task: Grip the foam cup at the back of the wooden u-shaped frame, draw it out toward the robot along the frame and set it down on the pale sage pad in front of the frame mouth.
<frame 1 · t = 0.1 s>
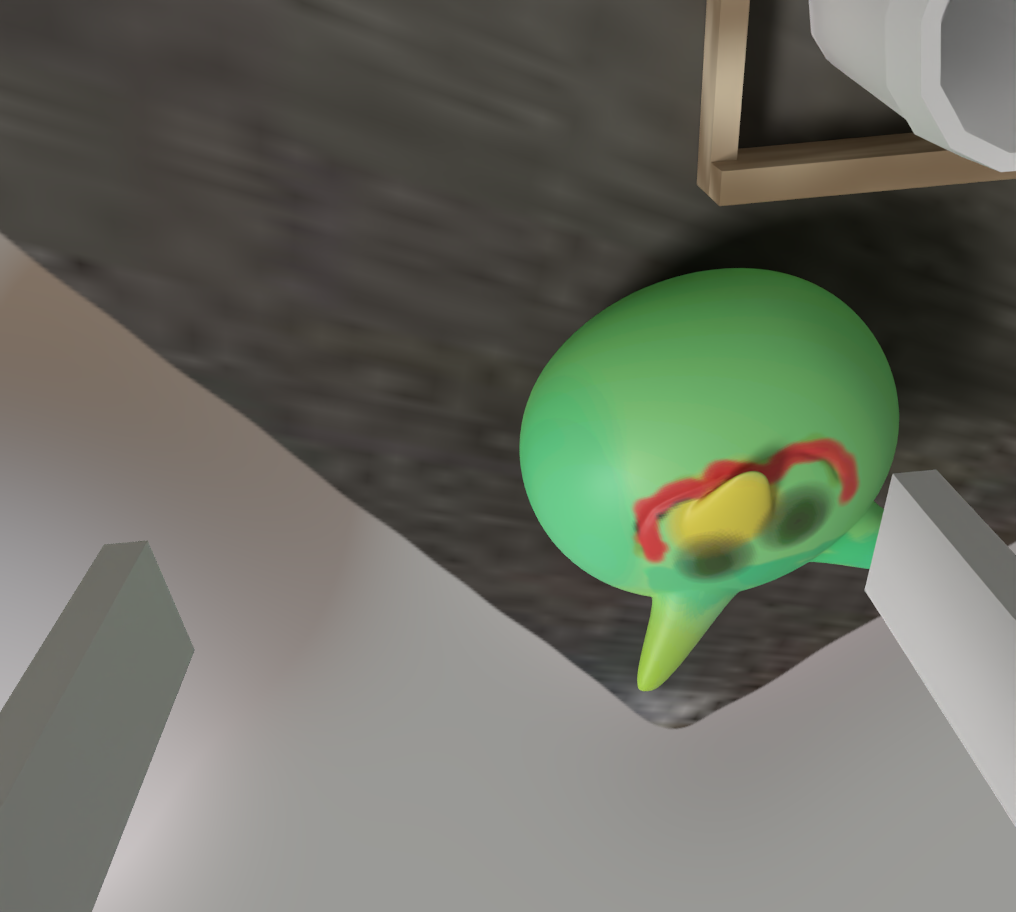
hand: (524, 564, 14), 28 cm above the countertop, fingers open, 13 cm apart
toy bird: (671, 381, 44), on the countertop
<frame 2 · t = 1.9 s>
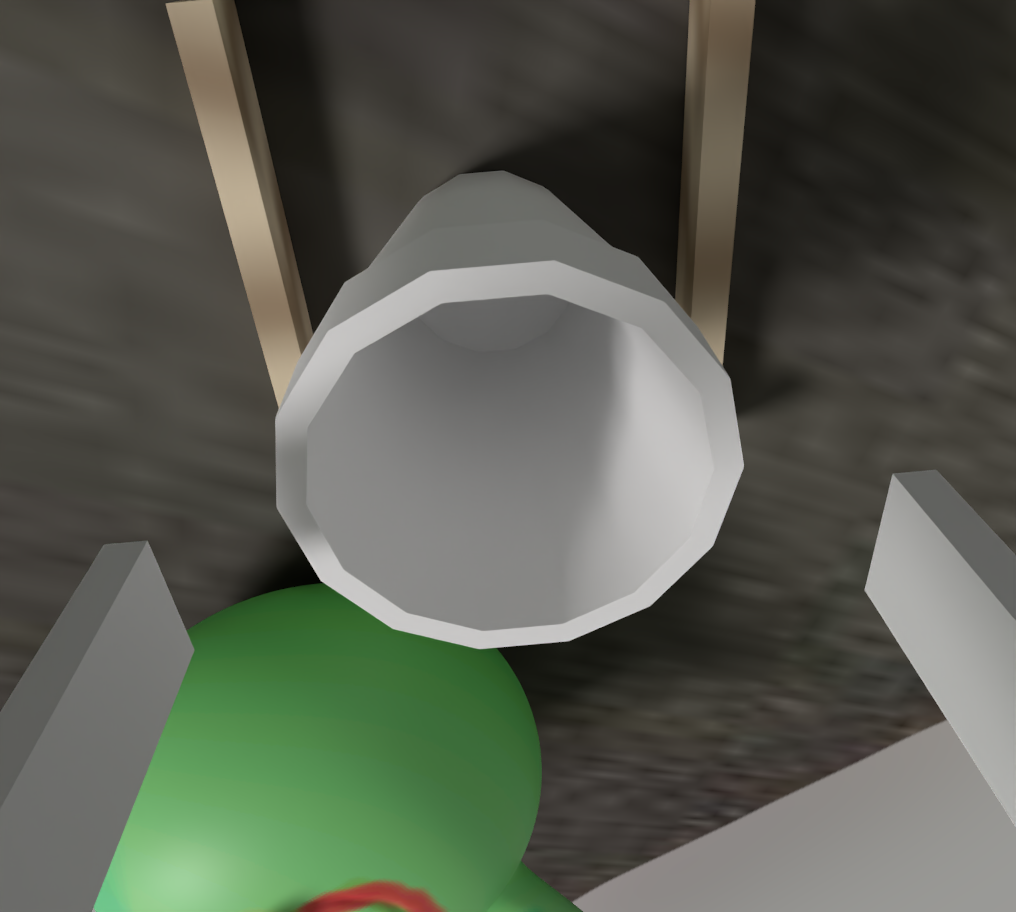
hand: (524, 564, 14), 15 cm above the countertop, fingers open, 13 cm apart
toy bird: (347, 652, 37), on the countertop
foam cup: (489, 263, 26), resting in wooden u-shaped frame
wooden u-shaped frame: (488, 251, 26), on the countertop
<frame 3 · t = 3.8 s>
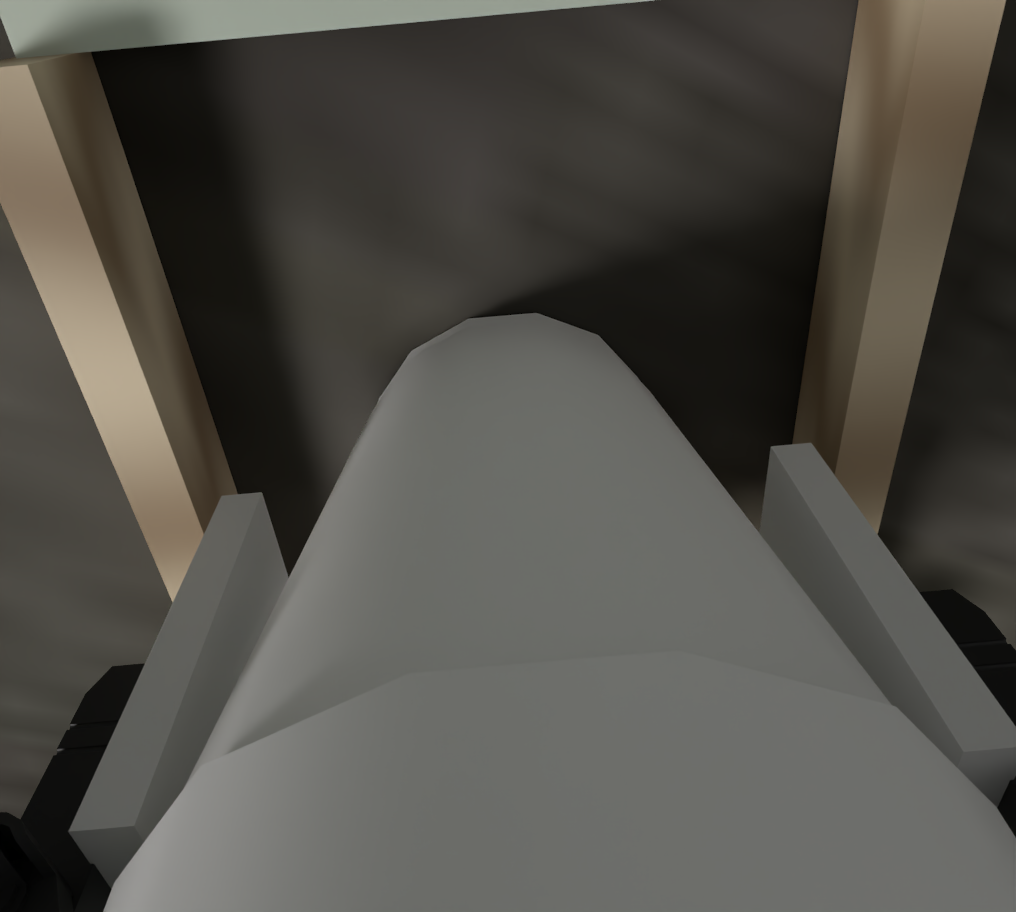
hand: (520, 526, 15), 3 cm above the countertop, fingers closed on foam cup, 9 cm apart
foam cup: (512, 437, 18), resting in wooden u-shaped frame, touching gripper
wooden u-shaped frame: (510, 424, 17), on the countertop
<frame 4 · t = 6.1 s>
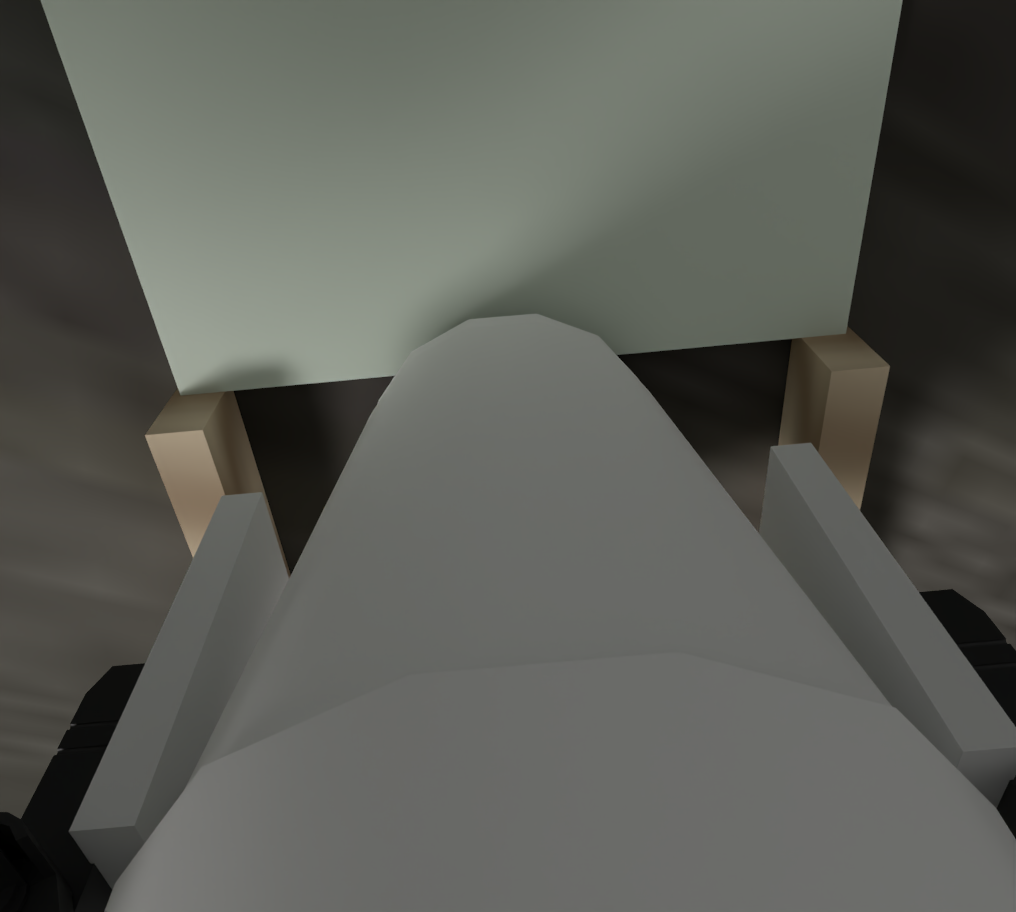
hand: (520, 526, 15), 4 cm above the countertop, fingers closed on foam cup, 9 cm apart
foam cup: (512, 438, 18), point 1 cm above the countertop, touching gripper
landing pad: (485, 64, 14), on the countertop
wooden u-shaped frame: (533, 609, 22), on the countertop
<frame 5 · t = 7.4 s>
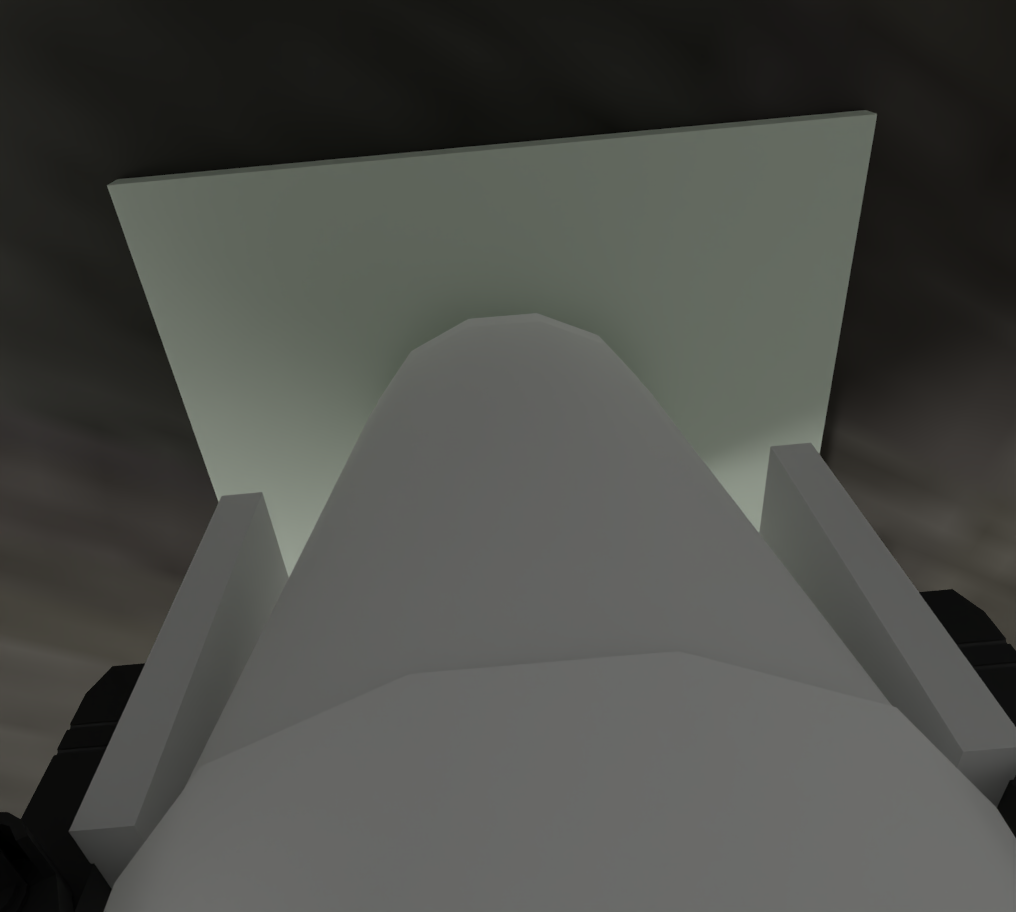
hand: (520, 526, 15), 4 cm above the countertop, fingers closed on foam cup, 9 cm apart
foam cup: (512, 438, 18), point 1 cm above the countertop, touching gripper
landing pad: (513, 407, 18), on the countertop
when the fingers open (4 cm above the countertop, at t = 8.4 s): foam cup stays where it is, resting on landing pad.
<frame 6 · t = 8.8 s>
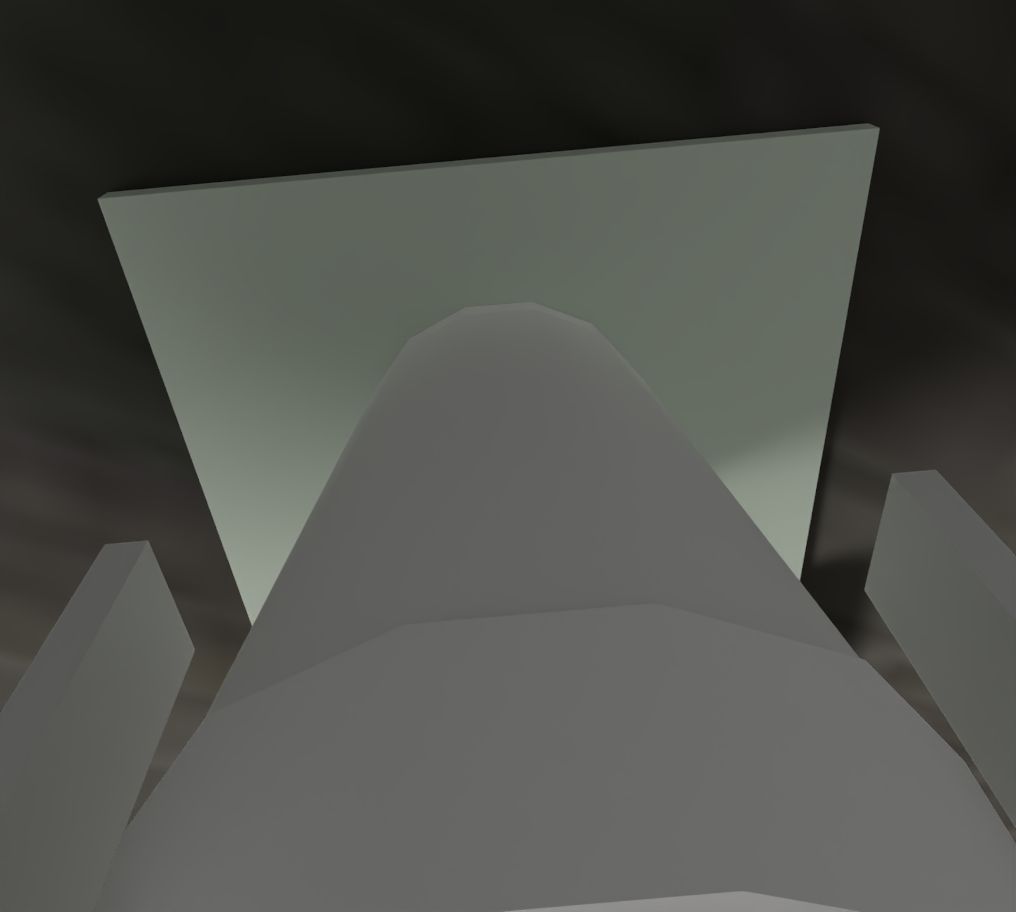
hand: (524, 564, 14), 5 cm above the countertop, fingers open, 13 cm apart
foam cup: (508, 425, 18), resting on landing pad
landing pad: (510, 420, 18), on the countertop
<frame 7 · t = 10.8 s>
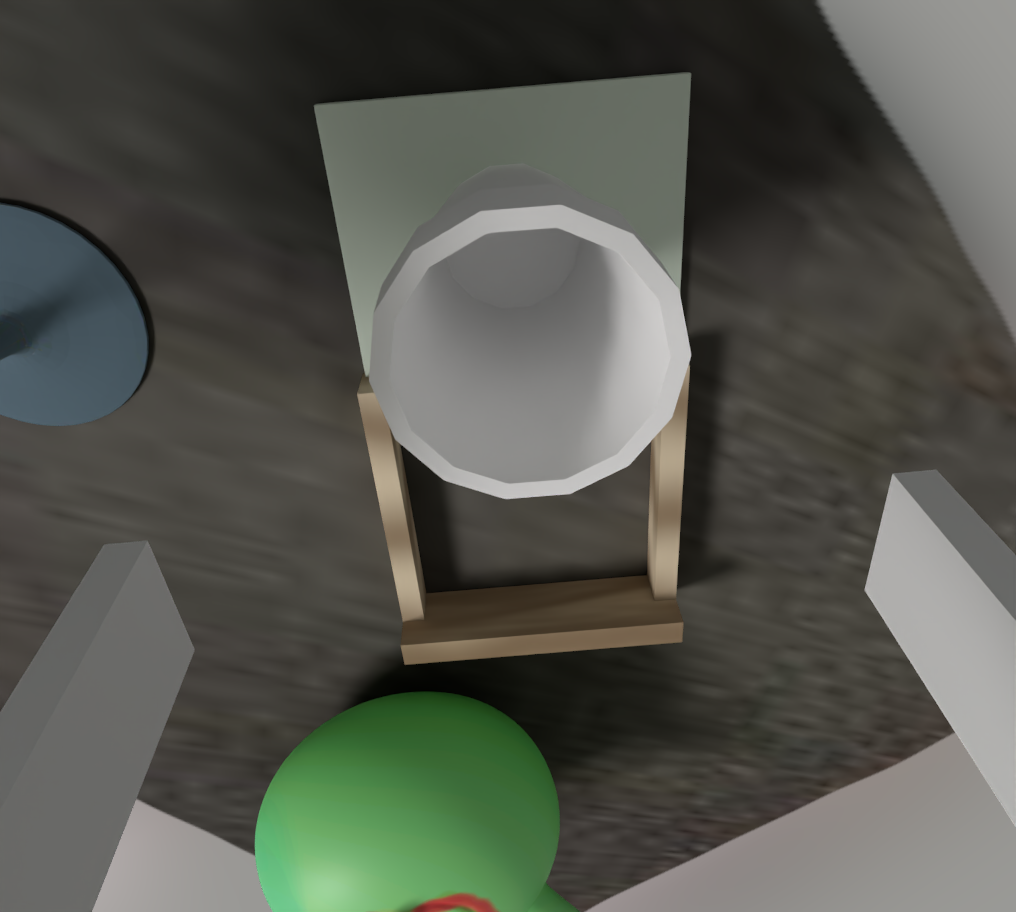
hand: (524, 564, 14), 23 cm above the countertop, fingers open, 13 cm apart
toy bird: (421, 730, 52), on the countertop
foam cup: (510, 237, 34), resting on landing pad
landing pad: (512, 236, 34), on the countertop
wooden u-shaped frame: (530, 494, 41), on the countertop
cocktail glass: (29, 319, 35), on the countertop
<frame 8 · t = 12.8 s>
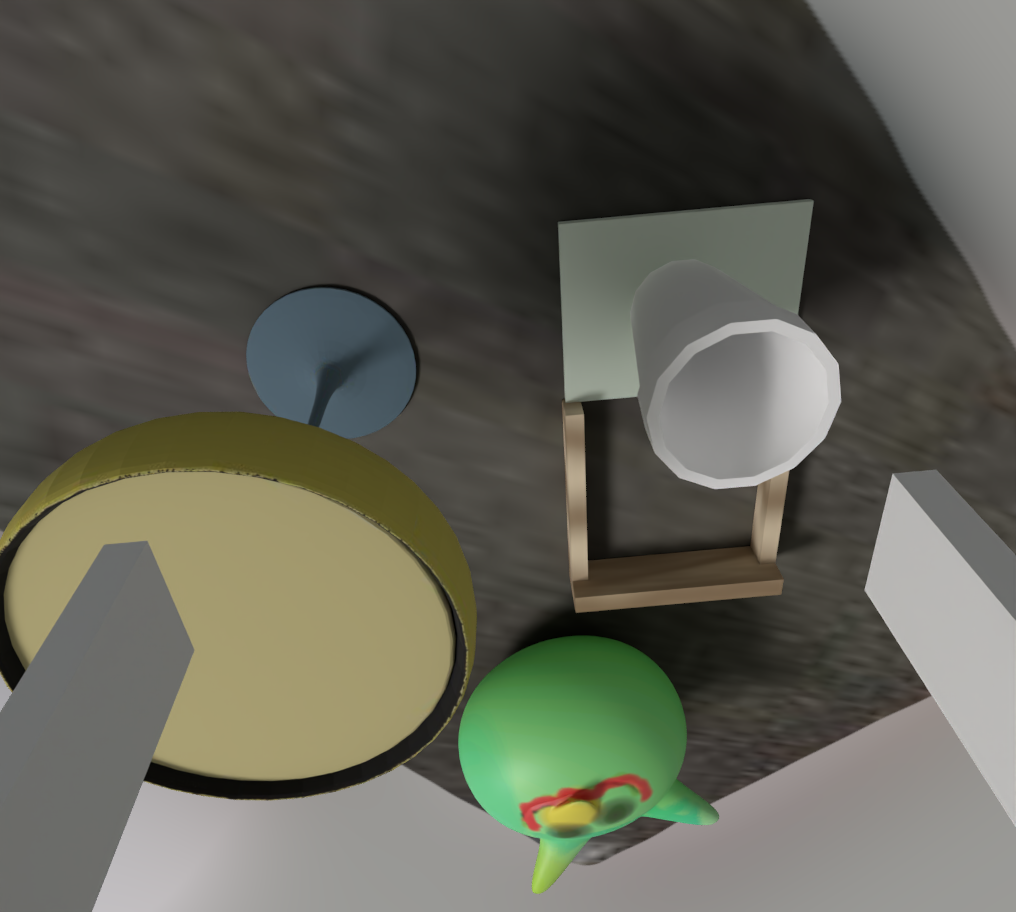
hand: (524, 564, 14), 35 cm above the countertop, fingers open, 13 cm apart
toy bird: (564, 670, 67), on the countertop
foam cup: (679, 306, 48), resting on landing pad
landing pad: (679, 305, 48), on the countertop
wooden u-shaped frame: (670, 485, 56), on the countertop
cocktail glass: (333, 364, 50), on the countertop
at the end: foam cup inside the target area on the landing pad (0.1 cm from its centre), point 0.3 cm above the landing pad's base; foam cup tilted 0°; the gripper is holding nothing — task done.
